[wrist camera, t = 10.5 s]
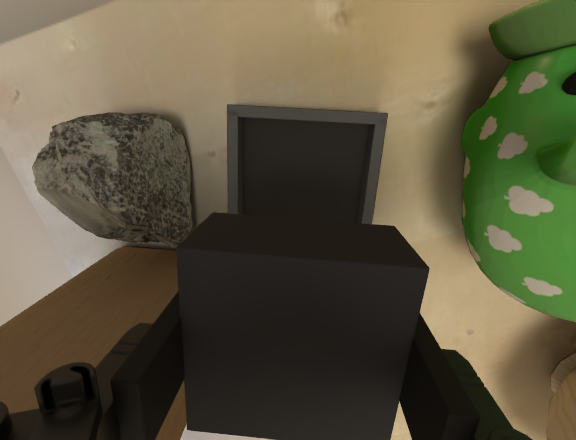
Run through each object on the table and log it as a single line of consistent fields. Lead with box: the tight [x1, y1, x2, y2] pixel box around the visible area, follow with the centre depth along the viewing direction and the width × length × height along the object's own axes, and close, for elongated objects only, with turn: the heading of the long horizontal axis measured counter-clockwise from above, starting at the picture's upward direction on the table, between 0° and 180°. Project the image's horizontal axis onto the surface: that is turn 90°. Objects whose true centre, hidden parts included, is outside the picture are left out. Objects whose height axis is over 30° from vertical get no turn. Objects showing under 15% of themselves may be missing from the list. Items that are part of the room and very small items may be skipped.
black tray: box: [227, 104, 388, 224], centre depth 26 cm, size 19×11×3 cm, turn 177°
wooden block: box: [0, 247, 187, 440], centre depth 21 cm, size 10×10×20 cm
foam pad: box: [176, 212, 429, 440], centre depth 13 cm, size 8×8×4 cm
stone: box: [32, 113, 193, 248], centre depth 23 cm, size 10×10×10 cm
